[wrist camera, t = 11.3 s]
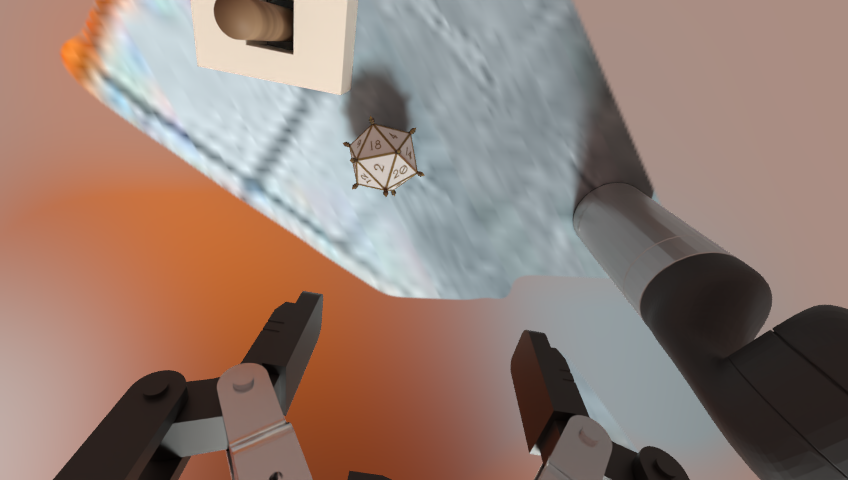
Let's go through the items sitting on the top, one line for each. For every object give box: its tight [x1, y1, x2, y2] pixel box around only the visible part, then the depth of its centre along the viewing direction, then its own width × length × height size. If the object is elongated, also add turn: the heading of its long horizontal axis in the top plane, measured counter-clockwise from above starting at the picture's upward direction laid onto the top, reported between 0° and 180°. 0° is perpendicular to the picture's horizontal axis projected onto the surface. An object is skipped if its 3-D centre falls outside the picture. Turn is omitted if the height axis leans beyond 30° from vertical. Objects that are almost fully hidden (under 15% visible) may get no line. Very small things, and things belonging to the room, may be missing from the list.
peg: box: [214, 0, 294, 42], centre depth 32 cm, size 3×3×12 cm
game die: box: [343, 116, 425, 197], centre depth 40 cm, size 9×8×10 cm
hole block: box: [191, 0, 358, 95], centre depth 35 cm, size 14×10×5 cm
